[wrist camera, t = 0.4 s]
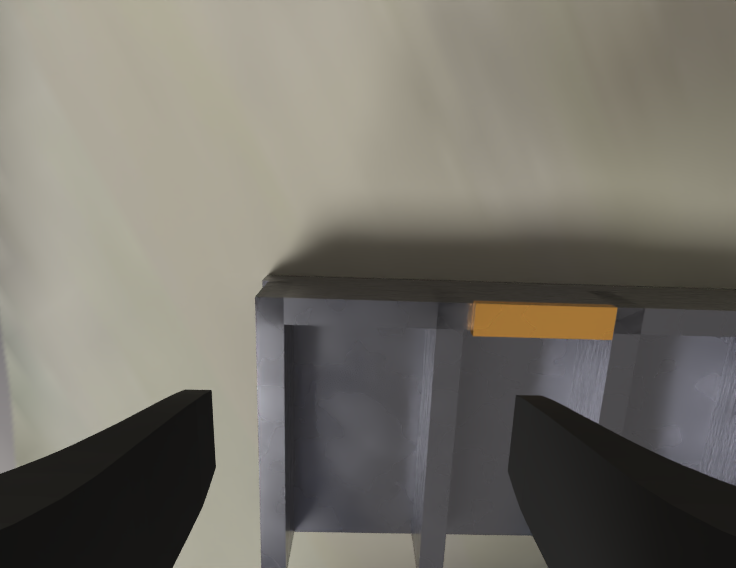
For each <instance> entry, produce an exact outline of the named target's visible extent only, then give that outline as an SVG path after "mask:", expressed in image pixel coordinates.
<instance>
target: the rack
mask: <svg viewBox="0 0 736 568" xmlns="http://www.w3.org/2000/svg"><path fill="white" fill-rule="evenodd" d="M255 310H256V354H257V398H258V442H259V486H260V530H261V568H288V562H289V557H290V551H291V546H292V540H293V535H294V532H352V533H412V540H413V547H414V554H415V561H416V568H443V561H444V550H445V538H446V534H471V535H531V536H533V535H532V533H531V531H530V529H529V527H528V525H527V523H526V521H525V519H524V516H523V514H522V512H521V510H520V507H519V504H518V501H517V499H516V496H515V493H514V490H513V487H512V483H511V480H510V477H509V474H508V463H509V454H510V444H511V435H512V426H513V417H514V407H515V398H516V395H541V396H544V397H547V398H549V399H552V400H554V401H556V402H558V403H560V404H562V405H564V406H566V407H568V408H570V409H572V410H573V411H575V412H577V413H579V414H581V415H583V416H585V417H586V418H588V419H590V420H592V421H594V422H596V423H598V424H599V425H601V426H603V427H605V428H607V429H609V430H611V431H613V432H614V433H616V434H618V435H620V436H622V437H624V438H626V439H628V440H630V441H632V442H634V443H636V444H638V445H640V446H642V447H644V448H647V449H649V450H651V451H653V452H655V453H657V454H659V455H661V456H663V457H665V458H668V459H670V460H672V461H675V462H677V463H679V464H681V465H684V466H686V467H689V468H691V469H694V470H696V471H699V472H701V473H704V474H706V475H709V476H711V477H714V478H716V479H718V480H721V481H724V482H727V483H729V484H732V485H735V486H736V289H705V288H672V287H639V286H606V285H573V284H540V283H507V282H474V281H441V280H408V279H375V278H342V277H310V276H277V275H267V276H266V277H265V278H264V279H263V288H262V289H261V291H260V292H259V293H258V294H257V295H256V297H255Z"/></svg>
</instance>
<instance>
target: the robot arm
mask: <svg viewBox="0 0 736 568" xmlns="http://www.w3.org/2000/svg"><path fill="white" fill-rule="evenodd" d="M215 468H216V463H215V445H214V427H213V409H212V391H211V390H183V391H181V392H178V393H176V394H174V395H171V396H169V397H167V398H165V399H163V400H161V401H159V402H157V403H155V404H154V405H152V406H150V407H148V408H146V409H144V410H142V411H140V412H138V413H136V414H135V415H133V416H131V417H129V418H127V419H125V420H123V421H121V422H119V423H117V424H115V425H113V426H111V427H109V428H107V429H105V430H103V431H101V432H99V433H97V434H95V435H92V436H90V437H88V438H86V439H84V440H82V441H80V442H78V443H76V444H74V445H72V446H69V447H67V448H65V449H63V450H60V451H58V452H56V453H53V454H51V455H48V456H46V457H44V458H41V459H38V460H36V461H33V462H31V463H28V464H26V465H23V466H20V467H18V468H15V469H12V470H10V471H7V472H4V473H2V474H0V568H173V566H174V564H175V562H176V560H177V558H178V556H179V554H180V552H181V550H182V548H183V546H184V544H185V542H186V540H187V538H188V536H189V534H190V532H191V530H192V528H193V525H194V523H195V521H196V519H197V517H198V515H199V513H200V511H201V509H202V507H203V504H204V501H205V498H206V496H207V493H208V490H209V487H210V484H211V481H212V478H213V475H214V471H215ZM508 474H509V477H510V480H511V483H512V487H513V490H514V493H515V496H516V499H517V501H518V504H519V507H520V510H521V512H522V514H523V516H524V519H525V521H526V523H527V525H528V527H529V529H530V531H531V533H532V535H533V537H534V539H535V541H536V543H537V545H538V547H539V549H540V551H541V553H542V555H543V557H544V559H545V562H546V564H547V566H548V568H736V486H735V485H732V484H729V483H727V482H724V481H721V480H718V479H716V478H714V477H711V476H709V475H706V474H704V473H701V472H699V471H696V470H694V469H691V468H689V467H686V466H684V465H681V464H679V463H677V462H675V461H672V460H670V459H668V458H665V457H663V456H661V455H659V454H657V453H655V452H653V451H651V450H649V449H647V448H644V447H642V446H640V445H638V444H636V443H634V442H632V441H630V440H628V439H626V438H624V437H622V436H620V435H618V434H616V433H614V432H613V431H611V430H609V429H607V428H605V427H603V426H601V425H599V424H598V423H596V422H594V421H592V420H590V419H588V418H586V417H585V416H583V415H581V414H579V413H577V412H575V411H573V410H572V409H570V408H568V407H566V406H564V405H562V404H560V403H558V402H556V401H554V400H552V399H549V398H547V397H544V396H541V395H516V398H515V407H514V417H513V426H512V435H511V444H510V454H509V463H508Z"/></svg>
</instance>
